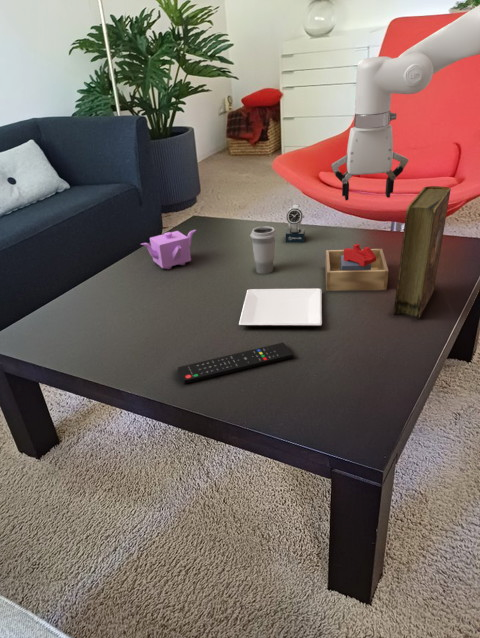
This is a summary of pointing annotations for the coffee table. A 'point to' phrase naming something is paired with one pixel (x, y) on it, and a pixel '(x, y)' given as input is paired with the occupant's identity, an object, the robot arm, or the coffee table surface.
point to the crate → (355, 273)
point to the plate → (282, 307)
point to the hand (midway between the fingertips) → (366, 197)
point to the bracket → (359, 255)
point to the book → (421, 250)
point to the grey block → (352, 265)
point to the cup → (263, 248)
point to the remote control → (233, 362)
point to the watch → (295, 225)
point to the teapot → (170, 249)
